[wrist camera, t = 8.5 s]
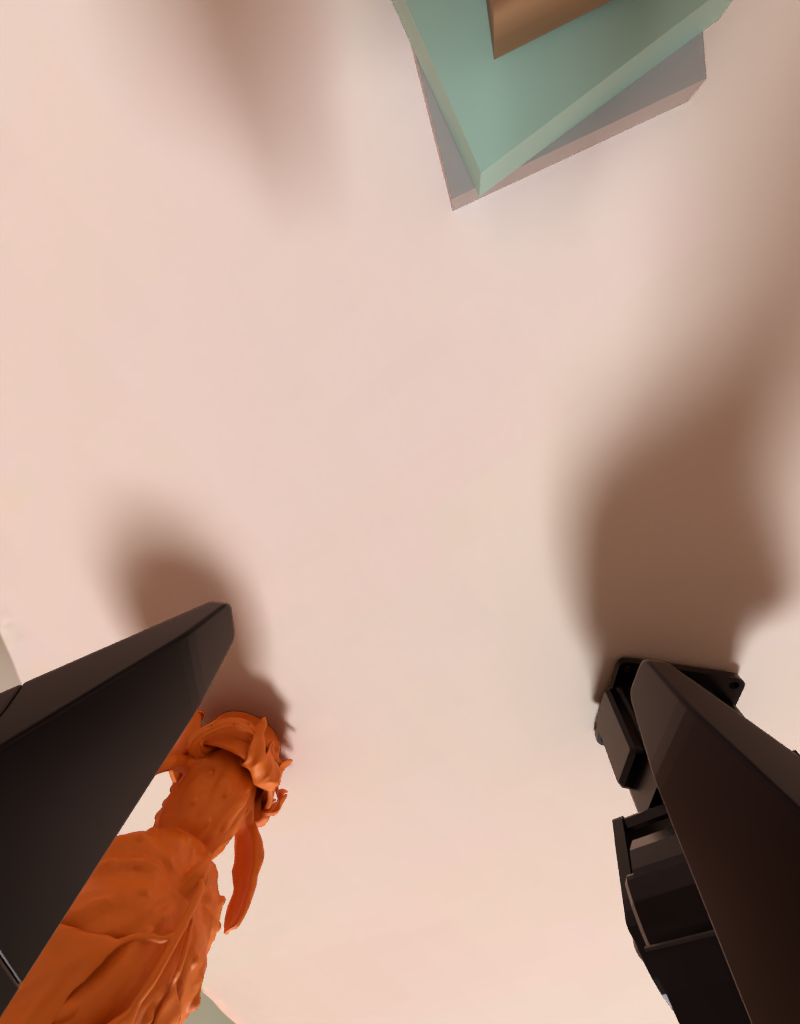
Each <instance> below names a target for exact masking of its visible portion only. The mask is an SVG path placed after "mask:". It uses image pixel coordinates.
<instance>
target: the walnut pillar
mask: <svg viewBox="0 0 800 1024" xmlns="http://www.w3.org/2000/svg"><path fill="white" fill-rule="evenodd" d="M610 1H612V0H486V4H487V11H488V18H489V26H490V33H491V41H492V48H493V56H494V60H495V59H497V58H499V57H501V56H503V55H505V54H507V53H509V52H511V51H513V50H515V49H517V48H519V47H521V46H523V45H525V44H527V43H528V42H530V41H532V40H534V39H536V38H538V37H540V36H542V35H544V34H546V33H548V32H550V31H552V30H554V29H556V28H558V27H560V26H562V25H564V24H566V23H568V22H570V21H572V20H574V19H576V18H578V17H580V16H582V15H584V14H586V13H588V12H590V11H592V10H594V9H596V8H598V7H600V6H602V5H604V4H606V3H608V2H610Z"/></svg>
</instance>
